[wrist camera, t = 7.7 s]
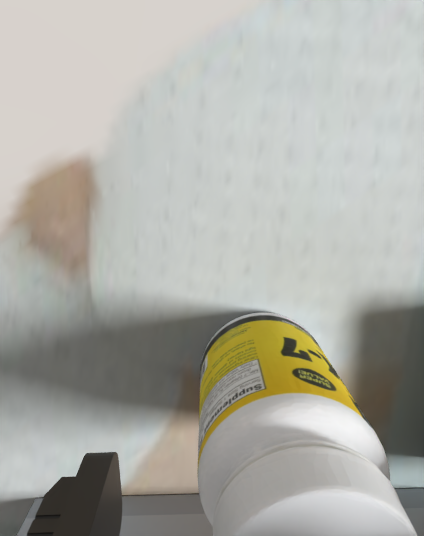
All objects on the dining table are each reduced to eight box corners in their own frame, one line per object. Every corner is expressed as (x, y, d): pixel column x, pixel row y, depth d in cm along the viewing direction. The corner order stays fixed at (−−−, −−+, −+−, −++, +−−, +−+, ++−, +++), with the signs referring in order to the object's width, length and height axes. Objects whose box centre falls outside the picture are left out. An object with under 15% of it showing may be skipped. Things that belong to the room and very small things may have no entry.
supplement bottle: (344, 368, 16) (497, 583, 8) (255, 439, 16) (306, 707, 8) (265, 283, 15) (341, 425, 7) (174, 363, 15) (142, 579, 7)
